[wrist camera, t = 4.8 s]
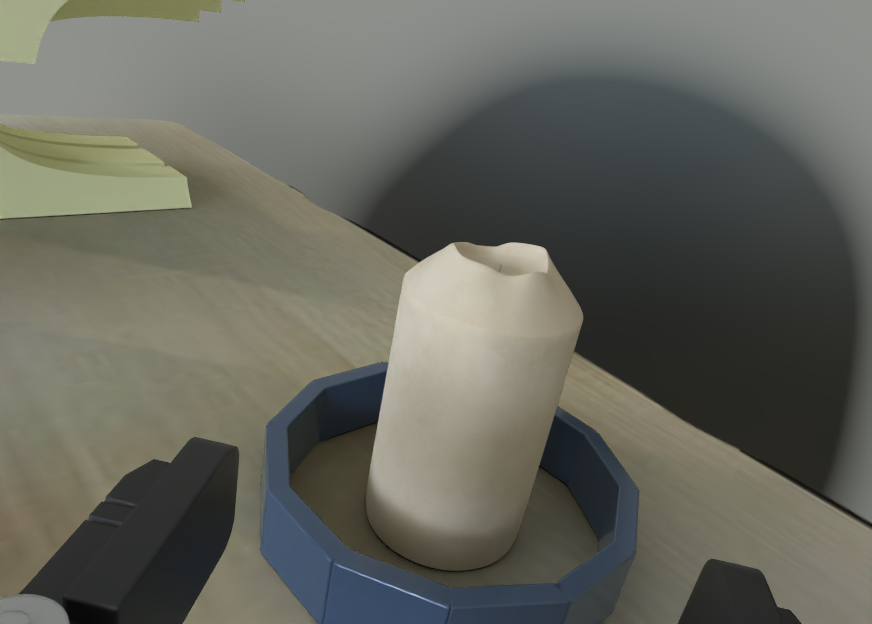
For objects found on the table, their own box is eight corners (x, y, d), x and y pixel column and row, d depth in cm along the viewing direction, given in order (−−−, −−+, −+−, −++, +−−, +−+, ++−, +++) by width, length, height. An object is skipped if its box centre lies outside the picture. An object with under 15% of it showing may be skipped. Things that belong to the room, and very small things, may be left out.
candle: (465, 453, 28) (522, 217, 24) (549, 549, 24) (637, 283, 20) (338, 479, 25) (379, 216, 21) (409, 593, 21) (477, 292, 17)
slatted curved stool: (-145, 126, 51) (-190, -155, 44) (85, 130, 62) (79, -96, 54) (-55, 284, 32) (-109, -162, 25) (251, 250, 43) (276, -69, 36)
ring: (193, 470, 24) (196, 410, 23) (447, 387, 32) (458, 340, 31) (429, 764, 16) (449, 693, 15) (682, 555, 25) (706, 500, 24)
